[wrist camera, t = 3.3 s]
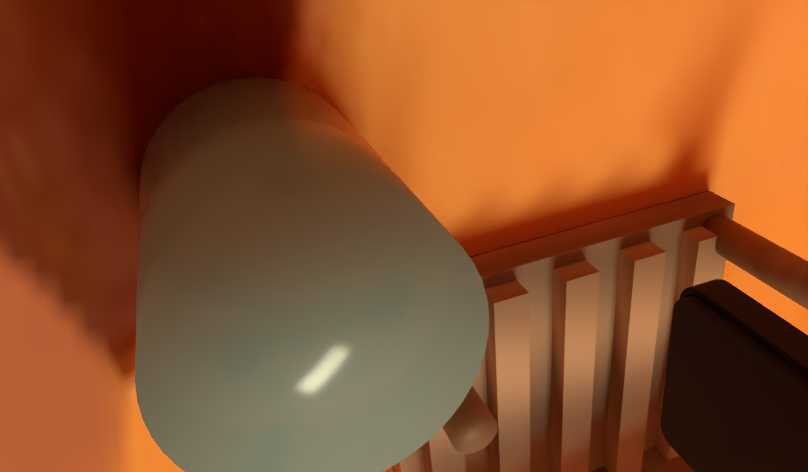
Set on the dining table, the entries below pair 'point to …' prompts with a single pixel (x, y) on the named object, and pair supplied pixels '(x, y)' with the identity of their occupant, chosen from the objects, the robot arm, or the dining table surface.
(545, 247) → the rack
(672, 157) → the dining table surface
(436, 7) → the dining table surface
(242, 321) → the grey green cylinder
